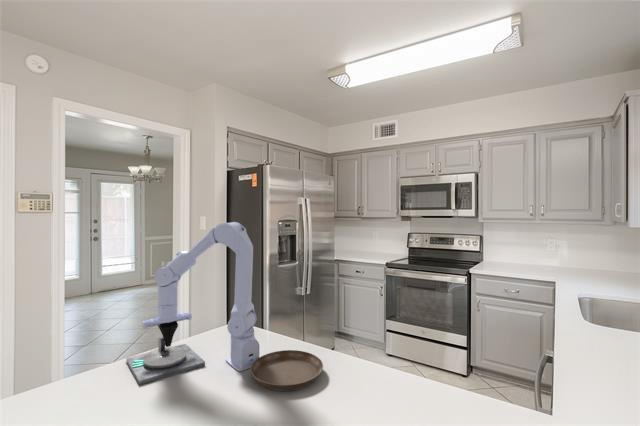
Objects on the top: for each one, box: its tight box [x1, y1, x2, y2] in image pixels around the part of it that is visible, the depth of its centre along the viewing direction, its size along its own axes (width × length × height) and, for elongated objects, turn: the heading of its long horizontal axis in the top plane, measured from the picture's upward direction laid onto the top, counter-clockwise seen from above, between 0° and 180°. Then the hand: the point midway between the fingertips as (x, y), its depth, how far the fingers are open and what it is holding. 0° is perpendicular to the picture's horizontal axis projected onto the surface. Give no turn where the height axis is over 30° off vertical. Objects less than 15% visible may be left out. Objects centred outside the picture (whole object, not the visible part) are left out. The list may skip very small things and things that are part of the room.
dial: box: [143, 337, 186, 368], centre depth 103 cm, size 12×12×5 cm
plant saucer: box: [250, 349, 324, 392], centre depth 96 cm, size 21×21×3 cm
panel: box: [125, 343, 206, 386], centre depth 103 cm, size 18×18×2 cm
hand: (167, 345), depth 108 cm, fingers closed
